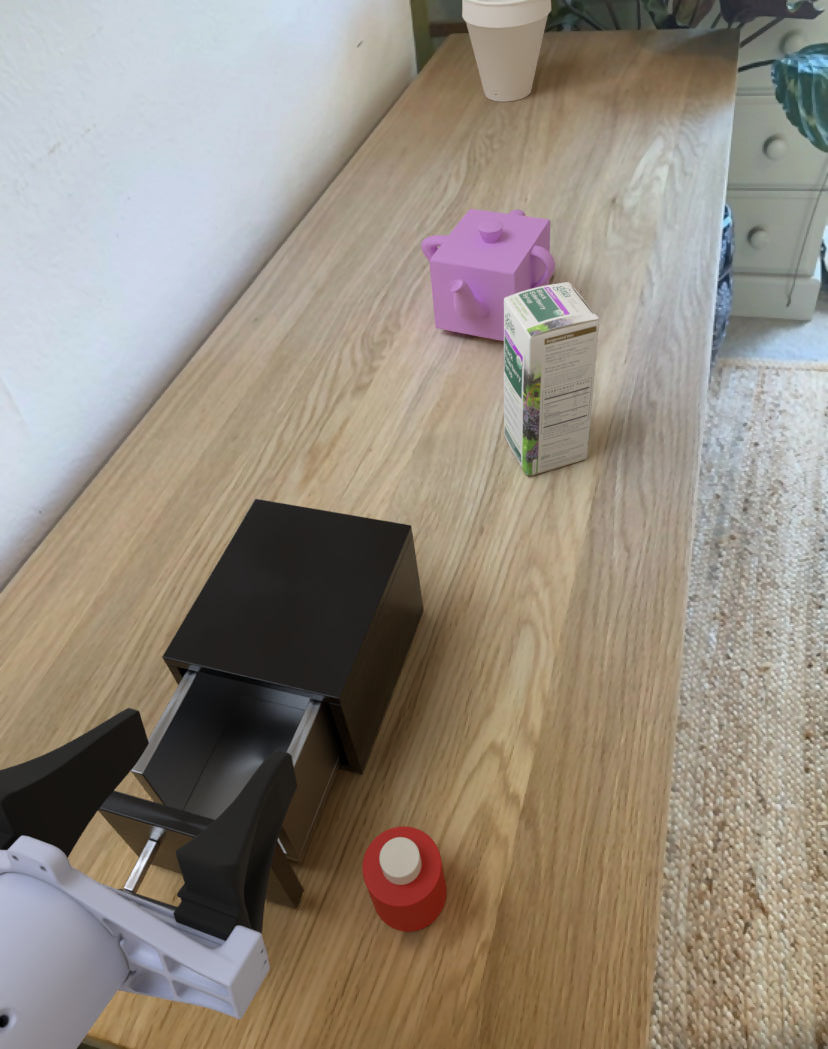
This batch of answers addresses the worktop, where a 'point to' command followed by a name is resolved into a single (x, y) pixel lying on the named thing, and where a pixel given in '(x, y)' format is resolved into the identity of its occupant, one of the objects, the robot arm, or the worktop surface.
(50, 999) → the robot arm
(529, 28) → the cup
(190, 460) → the worktop surface
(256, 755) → the drawer
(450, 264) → the teapot
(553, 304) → the syrup box
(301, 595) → the cabinet
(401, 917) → the bottle
